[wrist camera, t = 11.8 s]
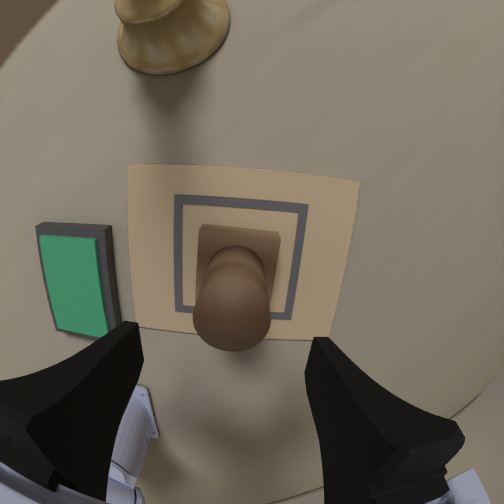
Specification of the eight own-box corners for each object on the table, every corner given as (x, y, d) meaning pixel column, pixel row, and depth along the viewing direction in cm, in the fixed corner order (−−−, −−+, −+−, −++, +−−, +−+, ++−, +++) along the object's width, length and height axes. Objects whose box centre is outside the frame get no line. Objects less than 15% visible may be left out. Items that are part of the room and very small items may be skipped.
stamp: (267, 294, 21) (276, 365, 14) (199, 287, 21) (178, 355, 14) (277, 229, 20) (295, 277, 12) (203, 221, 19) (178, 264, 12)
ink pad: (124, 336, 23) (117, 347, 21) (62, 324, 22) (54, 332, 21) (111, 225, 19) (101, 231, 18) (43, 221, 19) (32, 227, 18)
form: (327, 338, 23) (328, 340, 23) (137, 324, 22) (136, 326, 22) (358, 181, 19) (360, 182, 18) (129, 163, 18) (127, 164, 18)
